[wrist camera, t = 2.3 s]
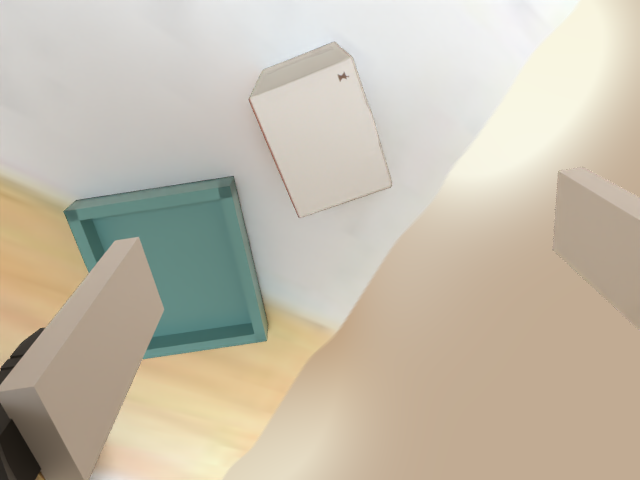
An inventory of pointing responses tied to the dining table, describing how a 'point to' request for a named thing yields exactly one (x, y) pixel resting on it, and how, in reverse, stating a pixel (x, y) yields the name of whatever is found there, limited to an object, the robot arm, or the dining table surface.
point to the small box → (320, 129)
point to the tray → (183, 260)
